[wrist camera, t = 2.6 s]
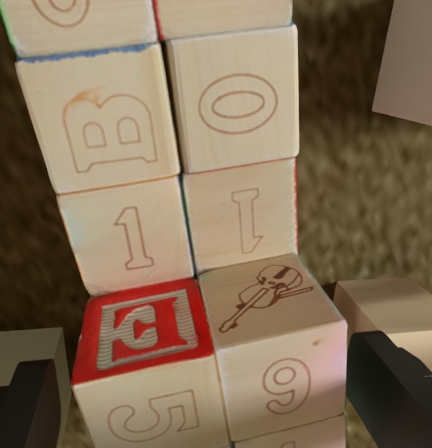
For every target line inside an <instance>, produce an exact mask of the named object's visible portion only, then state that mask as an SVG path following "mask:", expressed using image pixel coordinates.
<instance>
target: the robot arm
mask: <svg viewBox="0 0 432 448" xmlns="http://www.w3.org/2000/svg"><path fill="white" fill-rule="evenodd" d="M346 395H347V397H348V399H349V401H350V402H351V404H352V405H353V407H354V409H355V410H356V412H357V414H358V415H359V417H360V418H361V420H362V422H363V423H364V425H365V426H366V428H367V430H368V431H369V433H370V434H371V436H372V438H373V439H374V441H375V443H376V444H377V446H378V447H379V448H432V371H431V370H430V369H429V368H428V367H427V366H426V365H425V364H424V363H423V362H422V361H421V360H420V359H419V358H417V357H416V356H414V355H413V354H411V353H410V352H408V351H407V350H405V349H404V348H402V347H397V346H396V345H395V344H394V343H393V341H392V340H391V339H390V338H389V337H388V336H387V335H386V334H385V333H384V332H383V331H380V330H375V331H364V332H355V333H353V334H352V336H351V338H350V342H349V346H348V351H347V368H346ZM60 424H61V401H60V395H59V388H58V381H57V374H56V368H55V362H54V360H53V359H42V360H31V361H21V362H19V363H18V365H17V367H16V369H15V372H14V374H13V377H12V379H11V382H10V384H9V385H8V386H0V448H56V446H57V441H58V436H59V431H60Z"/></svg>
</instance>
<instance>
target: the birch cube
mask: <svg viewBox="0 0 432 448" xmlns="http://www.w3.org/2000/svg"><path fill="white" fill-rule="evenodd" d="M333 304H334V305H335V306H336V308H337V309H338V310H339V312H340V313H341V315H342V316H343V317H344V318H345V319H346V322H347V325H348V327H347V351H348V346H349V342H350V338H351V336H352V334H353V333H355V332H364V331H375V330H380V331H383V332H384V333H385V334H386V335H387V336H388V337H389V338H390V339H391V340H392V341H393V343H394V344H395V345H396V346H397V347H402V348H404V349H405V350H407V351H408V352H410V353H411V354H413V355H414V356H416V357H417V358H419V359H420V360H421V361H422V362H423V363H424V364H425V365H426V366H427V367H428V368H429V369H430V370H431V371H432V295H431V294H430V293H429V292H428V291H427V290H425V289H424V288H423V287H422V286H421V285H419V284H418V283H417V282H416V281H415V280H413V279H412V278H411V277H402V278H384V279H367V280H349V281H337V283H336V288H335V293H334V298H333Z"/></svg>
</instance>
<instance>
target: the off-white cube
mask: <svg viewBox="0 0 432 448" xmlns="http://www.w3.org/2000/svg"><path fill="white" fill-rule="evenodd" d="M372 111H374V112H378V113H382V114H386V115H390V116H394V117H398V118H402V119H406V120H410V121H414V122H419V123H423V124H427V125H431V126H432V0H394V4H393V9H392V13H391V18H390V23H389V28H388V33H387V38H386V43H385V48H384V53H383V58H382V62H381V67H380V72H379V77H378V82H377V87H376V92H375V97H374V102H373V107H372Z"/></svg>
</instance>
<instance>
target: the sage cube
mask: <svg viewBox="0 0 432 448" xmlns="http://www.w3.org/2000/svg"><path fill="white" fill-rule="evenodd" d="M42 359H53V360H54V362H55V368H56V374H57V381H58V388H59V395H60V401H61V424H60V431H59V436H58V441H57V446H56V448H61V444H62V439H63V434H64V430H65V425H66V420H67V415H68V410H69V405H70V400H71V395H72V393H71V385H70V378H69V371H68V363H67V356H66V349H65V341H64V334H63V327H58V328H44V329H30V330H15V331H1V332H0V386H8V385H9V384H10V382H11V379H12V377H13V374H14V372H15V369H16V367H17V365H18V363H19V362H21V361H31V360H42Z"/></svg>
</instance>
